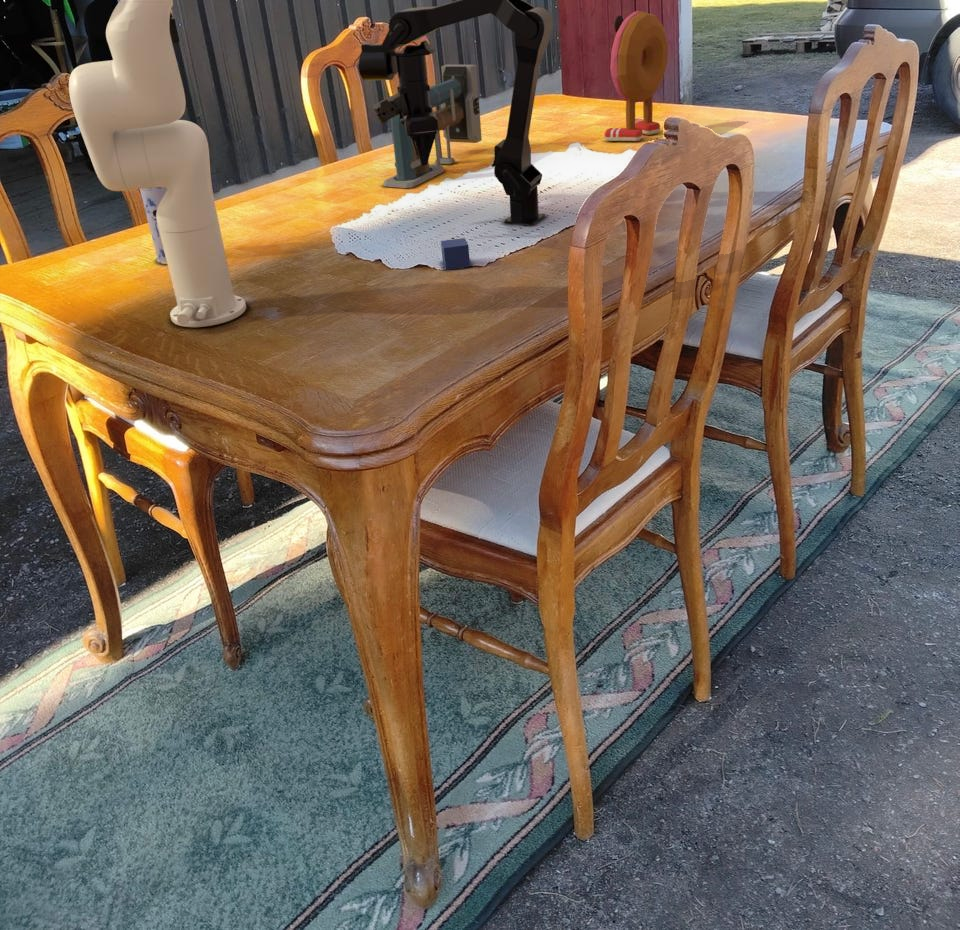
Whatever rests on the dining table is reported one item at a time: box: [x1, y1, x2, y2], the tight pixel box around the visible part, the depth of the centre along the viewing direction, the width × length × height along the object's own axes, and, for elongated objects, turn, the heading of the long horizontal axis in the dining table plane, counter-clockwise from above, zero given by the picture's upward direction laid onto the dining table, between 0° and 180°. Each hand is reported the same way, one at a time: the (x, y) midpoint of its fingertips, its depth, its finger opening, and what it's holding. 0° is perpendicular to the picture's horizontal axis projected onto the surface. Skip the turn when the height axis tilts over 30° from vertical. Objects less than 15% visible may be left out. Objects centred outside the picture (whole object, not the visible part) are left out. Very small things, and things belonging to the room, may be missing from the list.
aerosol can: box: [139, 187, 168, 265], centre depth 188 cm, size 8×8×20 cm
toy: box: [604, 10, 669, 142], centre depth 247 cm, size 21×10×30 cm, turn 141°
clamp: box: [382, 64, 483, 189], centre depth 235 cm, size 35×9×21 cm, turn 151°
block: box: [440, 237, 471, 271], centre depth 176 cm, size 4×4×4 cm
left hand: (167, 46), depth 174 cm, fingers open, 9 cm apart
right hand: (421, 160), depth 198 cm, fingers open, 9 cm apart
